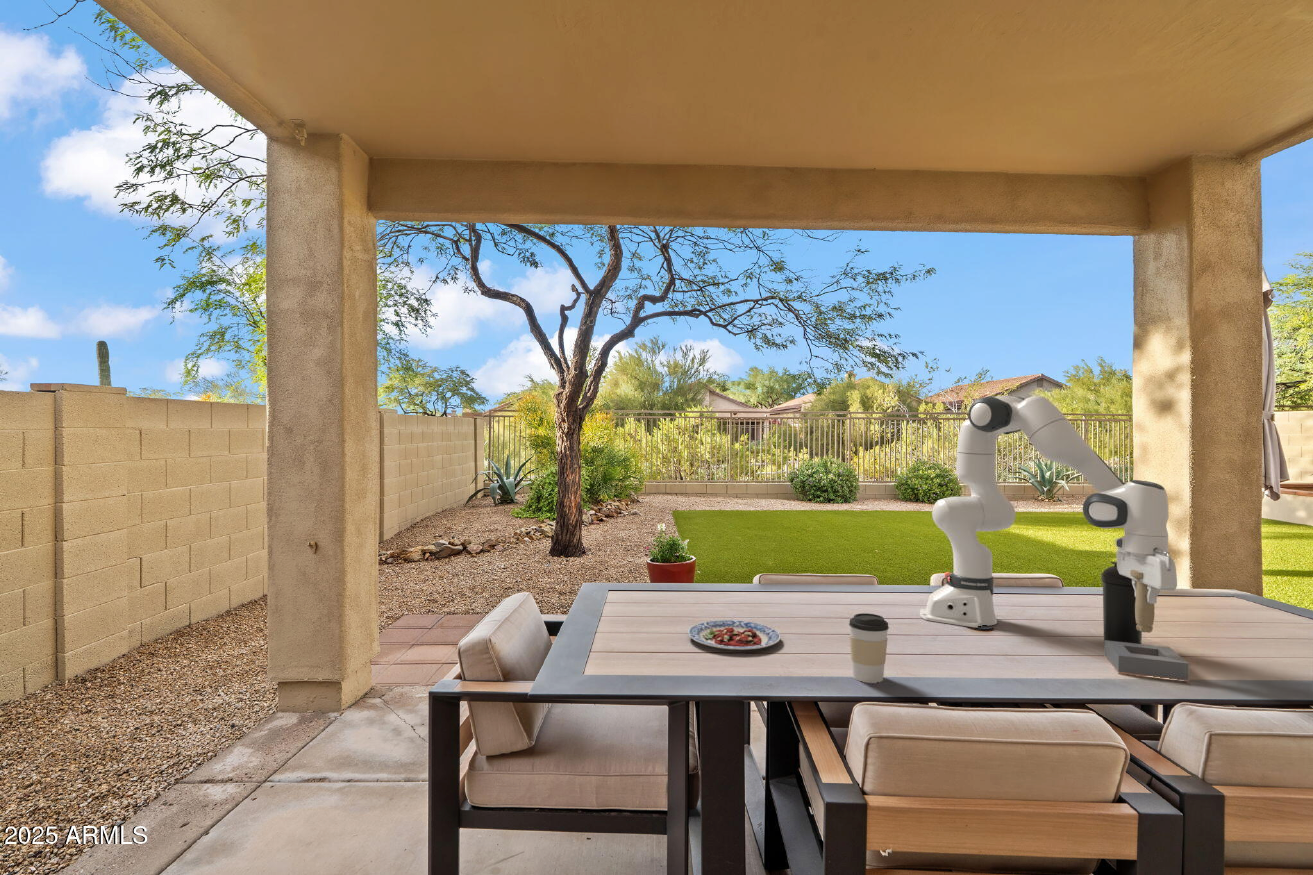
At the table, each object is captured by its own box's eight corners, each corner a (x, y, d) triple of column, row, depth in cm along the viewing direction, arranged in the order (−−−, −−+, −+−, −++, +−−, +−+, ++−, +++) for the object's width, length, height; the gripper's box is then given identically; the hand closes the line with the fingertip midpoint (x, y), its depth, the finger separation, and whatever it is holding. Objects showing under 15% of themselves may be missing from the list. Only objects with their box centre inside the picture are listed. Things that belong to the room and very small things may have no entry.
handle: (1164, 633, 163) (1165, 573, 163) (1142, 634, 162) (1143, 573, 162) (1146, 627, 168) (1147, 569, 168) (1125, 628, 167) (1125, 569, 167)
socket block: (1118, 673, 162) (1118, 655, 162) (1104, 657, 174) (1104, 640, 174) (1188, 682, 157) (1188, 663, 157) (1168, 664, 169) (1169, 647, 169)
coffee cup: (842, 671, 162) (843, 610, 161) (878, 670, 162) (879, 609, 162) (857, 685, 152) (857, 620, 152) (894, 684, 153) (895, 620, 153)
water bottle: (1137, 643, 186) (1138, 562, 186) (1150, 654, 177) (1152, 569, 176) (1095, 639, 189) (1096, 559, 189) (1106, 649, 180) (1108, 566, 180)
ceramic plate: (790, 634, 191) (790, 624, 191) (766, 662, 168) (766, 651, 168) (707, 622, 202) (707, 613, 202) (673, 647, 179) (673, 636, 179)
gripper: (1185, 553, 154) (1185, 611, 154) (1137, 539, 174) (1137, 592, 174) (1155, 552, 155) (1155, 610, 155) (1111, 539, 176) (1111, 590, 176)
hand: (1145, 600), depth 165 cm, fingers closed on handle, 3 cm apart
